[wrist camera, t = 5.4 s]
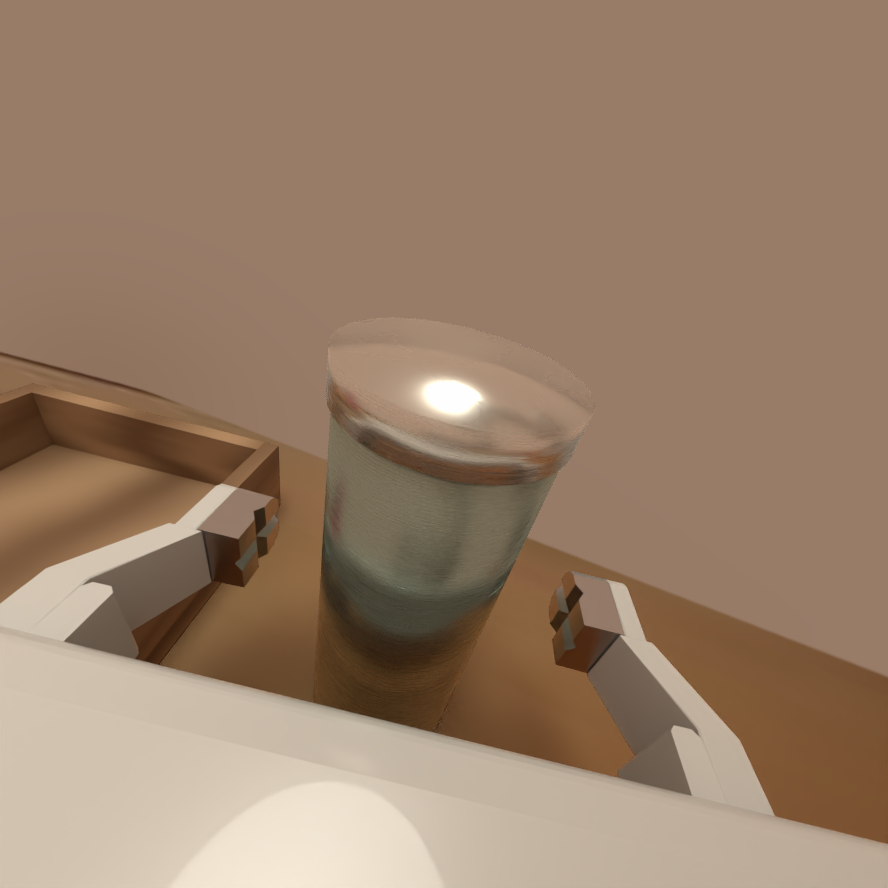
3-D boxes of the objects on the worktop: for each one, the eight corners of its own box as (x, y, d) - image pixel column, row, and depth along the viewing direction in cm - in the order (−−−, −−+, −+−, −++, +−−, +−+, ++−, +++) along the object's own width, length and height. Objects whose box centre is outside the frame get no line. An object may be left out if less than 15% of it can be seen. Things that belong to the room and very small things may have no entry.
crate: (280, 505, 20) (278, 445, 18) (-61, 950, 8) (-189, 924, 6) (59, 449, 20) (32, 383, 18) (-635, 811, 8) (-974, 734, 6)
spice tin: (455, 632, 16) (570, 353, 10) (439, 783, 12) (631, 467, 5) (341, 603, 16) (375, 303, 10) (283, 744, 12) (269, 374, 5)
